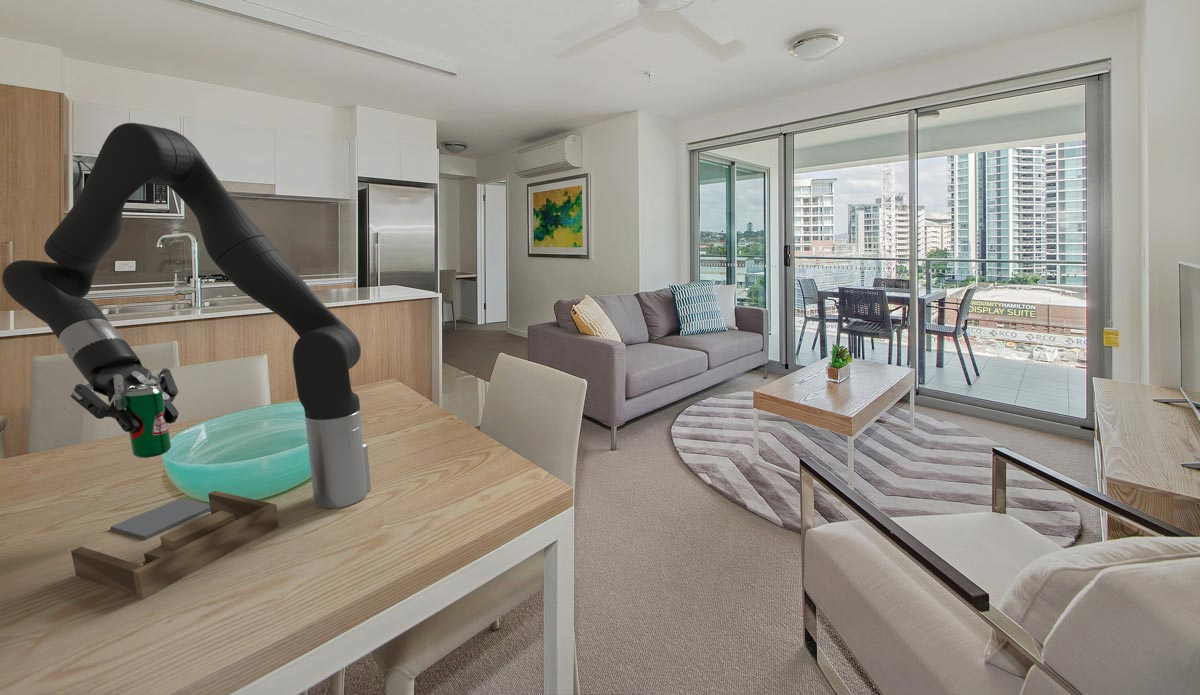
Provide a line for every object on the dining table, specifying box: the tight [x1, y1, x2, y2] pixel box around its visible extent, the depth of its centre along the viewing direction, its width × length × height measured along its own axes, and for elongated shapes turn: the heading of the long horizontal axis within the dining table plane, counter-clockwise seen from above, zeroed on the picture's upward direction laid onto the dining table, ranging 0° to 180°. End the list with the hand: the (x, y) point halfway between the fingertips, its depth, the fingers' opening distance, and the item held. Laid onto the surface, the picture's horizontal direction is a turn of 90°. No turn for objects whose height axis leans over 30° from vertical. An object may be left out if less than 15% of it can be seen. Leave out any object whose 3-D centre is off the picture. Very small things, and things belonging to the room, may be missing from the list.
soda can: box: [123, 382, 172, 459], centre depth 88 cm, size 5×5×12 cm
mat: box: [110, 497, 211, 540], centre depth 92 cm, size 11×9×1 cm
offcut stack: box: [142, 510, 236, 566], centre depth 81 cm, size 12×5×4 cm, turn 160°
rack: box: [70, 490, 280, 600], centre depth 82 cm, size 20×15×4 cm
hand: (155, 425), depth 88 cm, fingers closed on soda can, 5 cm apart
